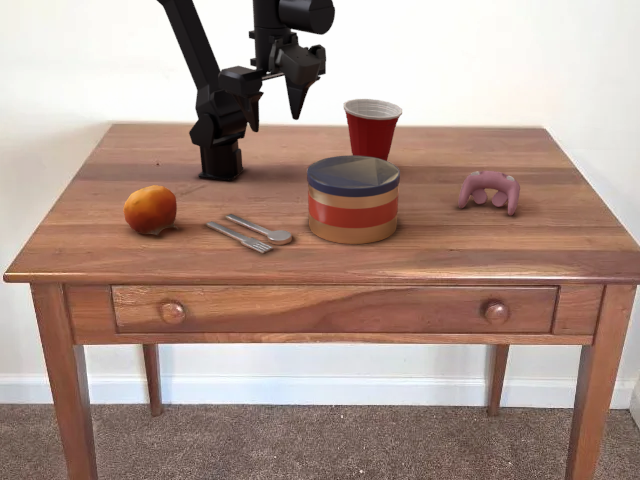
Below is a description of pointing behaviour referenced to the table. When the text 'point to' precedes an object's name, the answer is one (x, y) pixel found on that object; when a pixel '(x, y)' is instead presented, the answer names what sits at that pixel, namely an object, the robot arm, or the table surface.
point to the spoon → (263, 231)
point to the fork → (241, 238)
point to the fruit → (151, 210)
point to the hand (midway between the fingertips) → (276, 125)
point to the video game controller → (490, 180)
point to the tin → (353, 199)
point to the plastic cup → (371, 126)
